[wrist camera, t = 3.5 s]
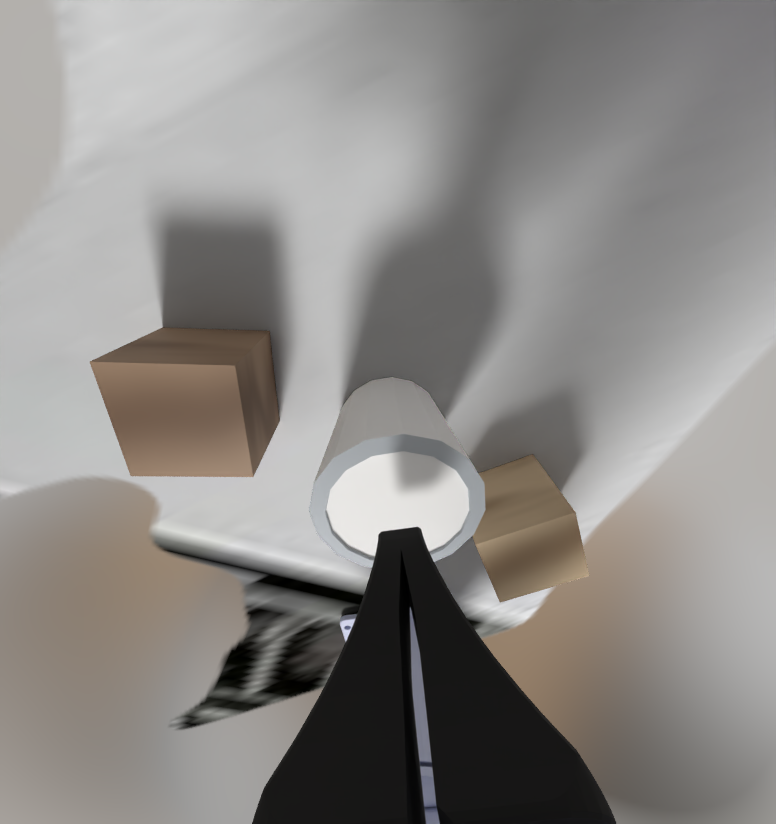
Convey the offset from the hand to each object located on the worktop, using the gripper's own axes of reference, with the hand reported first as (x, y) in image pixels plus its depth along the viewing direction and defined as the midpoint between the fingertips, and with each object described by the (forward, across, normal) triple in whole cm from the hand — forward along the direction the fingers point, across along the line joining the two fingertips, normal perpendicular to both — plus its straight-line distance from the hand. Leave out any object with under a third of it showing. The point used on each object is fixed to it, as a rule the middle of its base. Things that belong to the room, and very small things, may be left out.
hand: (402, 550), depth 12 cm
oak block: (+9, -6, +7) cm, 13 cm away
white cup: (+9, 0, 0) cm, 9 cm away
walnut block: (+9, +8, -4) cm, 13 cm away
